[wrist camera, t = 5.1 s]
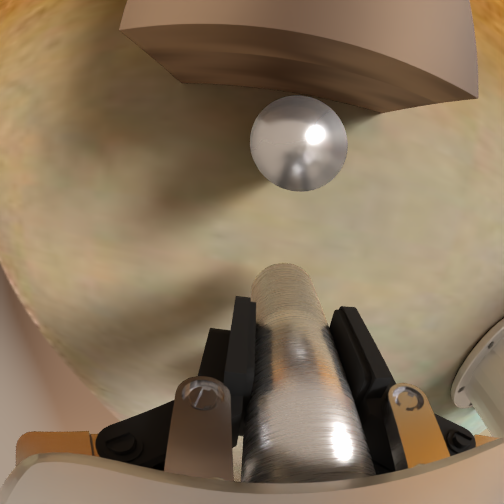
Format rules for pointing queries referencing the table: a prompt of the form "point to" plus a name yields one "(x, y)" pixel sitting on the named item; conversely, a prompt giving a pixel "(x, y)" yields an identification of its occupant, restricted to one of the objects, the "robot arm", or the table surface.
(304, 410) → the steel pin long
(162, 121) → the table surface
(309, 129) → the steel pin medium
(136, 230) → the table surface
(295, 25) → the walnut bridge
